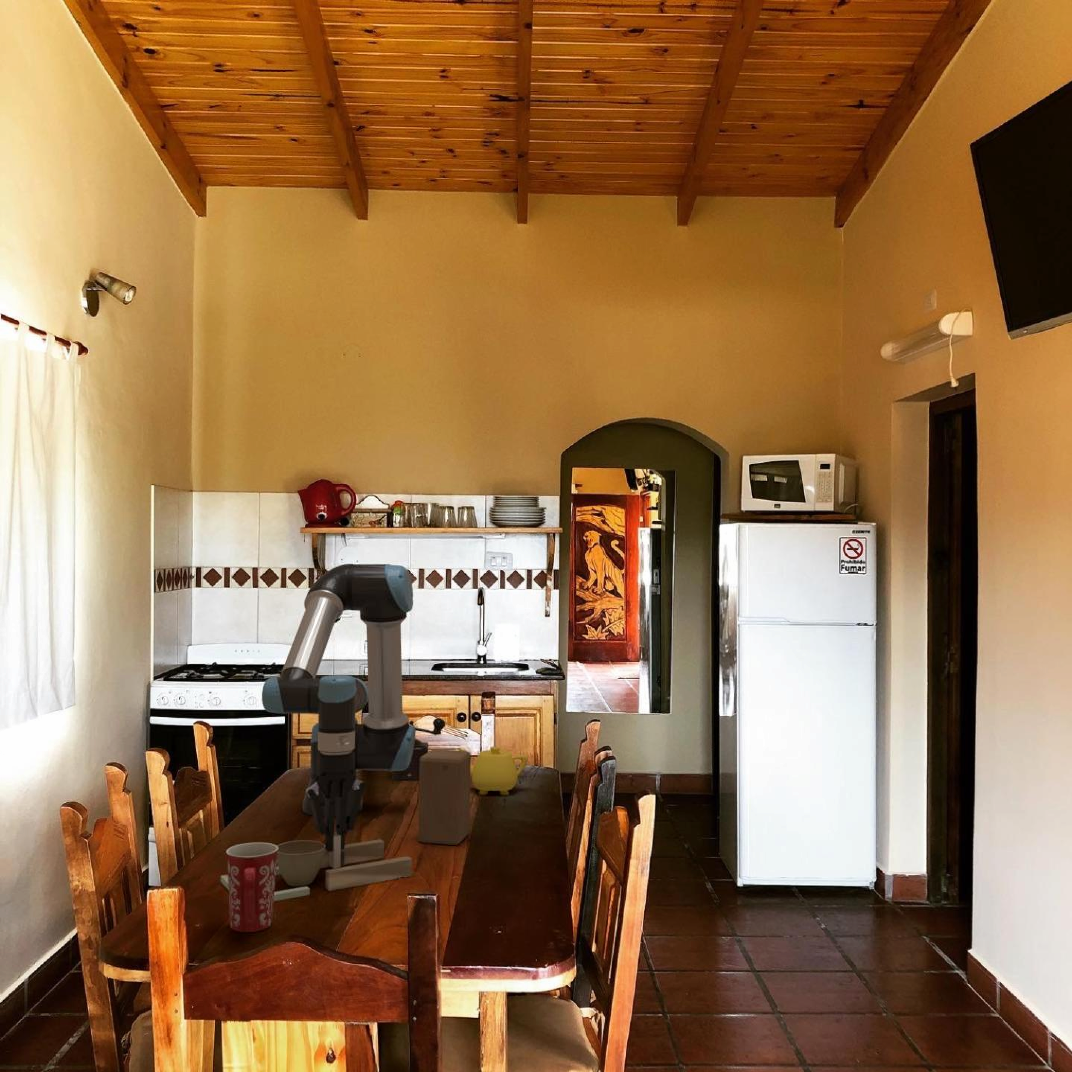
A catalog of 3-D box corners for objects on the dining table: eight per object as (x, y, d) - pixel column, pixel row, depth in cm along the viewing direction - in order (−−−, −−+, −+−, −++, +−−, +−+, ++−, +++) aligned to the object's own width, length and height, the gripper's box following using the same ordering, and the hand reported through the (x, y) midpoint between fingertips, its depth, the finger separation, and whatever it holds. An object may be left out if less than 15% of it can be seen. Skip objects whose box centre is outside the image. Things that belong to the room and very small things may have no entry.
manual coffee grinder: (391, 781, 286) (392, 719, 286) (393, 772, 297) (394, 713, 297) (444, 780, 287) (445, 719, 287) (445, 772, 298) (446, 713, 298)
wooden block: (458, 846, 223) (460, 758, 223) (416, 843, 225) (418, 756, 225) (470, 834, 233) (471, 750, 233) (430, 831, 235) (431, 747, 235)
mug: (227, 916, 178) (229, 842, 179) (278, 914, 180) (280, 840, 180) (218, 944, 166) (219, 864, 166) (273, 941, 168) (274, 862, 168)
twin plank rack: (301, 868, 206) (301, 851, 206) (380, 855, 216) (380, 839, 216) (329, 891, 193) (329, 873, 193) (411, 875, 202) (412, 858, 202)
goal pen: (220, 881, 197) (220, 875, 197) (282, 871, 204) (282, 865, 204) (244, 906, 183) (244, 900, 183) (309, 894, 190) (309, 888, 190)
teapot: (458, 784, 282) (459, 741, 283) (527, 786, 282) (528, 743, 282) (454, 796, 269) (454, 751, 269) (526, 797, 269) (527, 752, 269)
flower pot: (334, 878, 200) (335, 842, 200) (306, 893, 191) (307, 856, 191) (293, 871, 204) (293, 837, 204) (263, 886, 194) (264, 850, 195)
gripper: (312, 757, 195) (310, 876, 195) (372, 751, 202) (371, 865, 202) (299, 751, 201) (297, 866, 201) (358, 745, 209) (356, 856, 208)
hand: (334, 866), depth 201 cm, fingers closed
